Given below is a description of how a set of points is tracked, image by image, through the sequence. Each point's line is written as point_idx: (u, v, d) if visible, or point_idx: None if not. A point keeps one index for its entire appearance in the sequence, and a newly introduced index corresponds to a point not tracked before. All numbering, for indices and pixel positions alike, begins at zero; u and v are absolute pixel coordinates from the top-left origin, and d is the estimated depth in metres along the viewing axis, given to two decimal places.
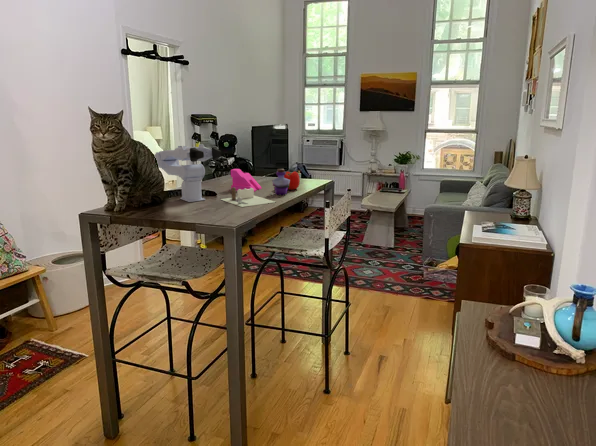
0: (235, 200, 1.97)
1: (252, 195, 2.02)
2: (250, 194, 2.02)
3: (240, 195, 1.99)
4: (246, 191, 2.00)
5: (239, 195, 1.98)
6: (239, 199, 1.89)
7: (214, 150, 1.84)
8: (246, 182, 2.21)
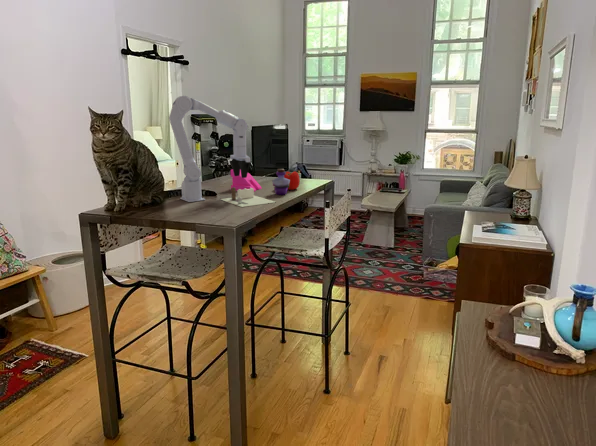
0: (235, 200, 1.97)
1: (252, 195, 2.02)
2: (250, 194, 2.02)
3: (240, 195, 1.99)
4: (246, 191, 2.00)
5: (239, 195, 1.98)
6: (239, 199, 1.89)
7: (239, 165, 2.05)
8: (246, 182, 2.21)
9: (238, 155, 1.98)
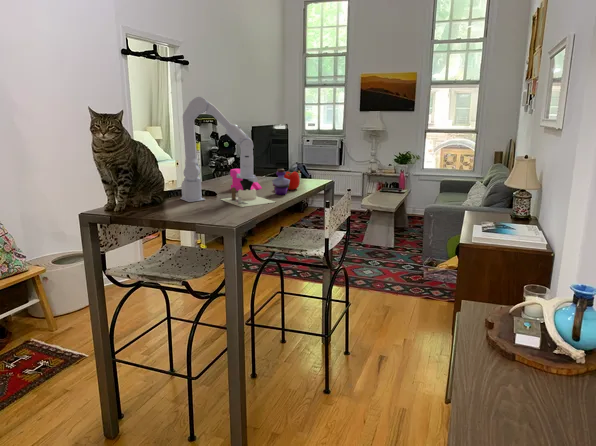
0: (235, 200, 1.97)
1: (254, 196, 2.00)
2: (252, 195, 1.99)
3: (240, 195, 1.98)
4: (247, 192, 1.98)
5: (239, 195, 1.98)
6: (239, 199, 1.89)
7: (249, 185, 2.00)
8: None
9: (245, 175, 1.95)
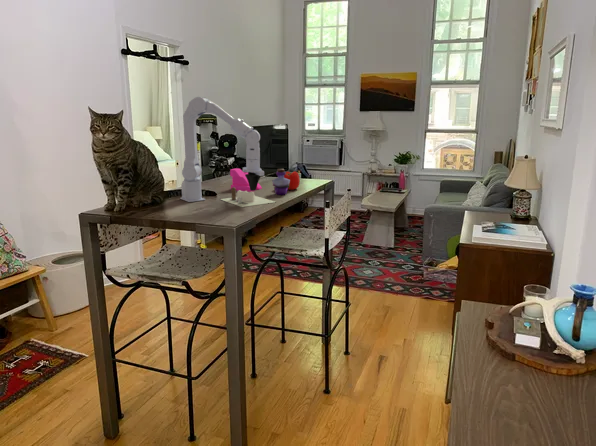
0: (235, 200, 1.97)
1: (251, 199, 1.94)
2: (249, 198, 1.94)
3: (239, 196, 1.96)
4: (245, 194, 1.94)
5: (238, 196, 1.96)
6: (239, 199, 1.89)
7: None
8: (245, 182, 2.21)
9: (251, 168, 1.91)
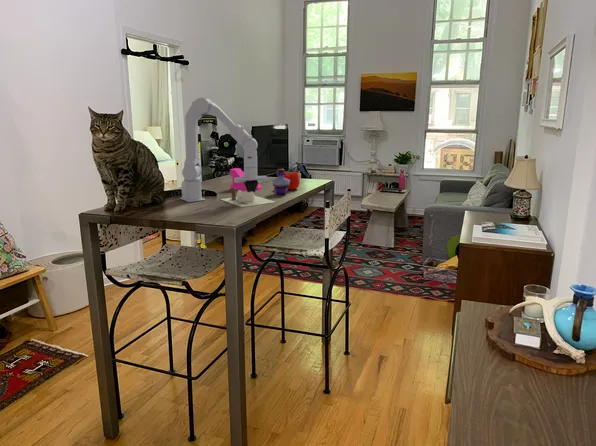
0: (235, 200, 1.97)
1: (251, 199, 1.93)
2: (249, 198, 1.94)
3: (239, 196, 1.96)
4: (245, 194, 1.94)
5: (238, 196, 1.96)
6: (239, 199, 1.89)
7: None
8: None
9: (256, 175, 1.94)
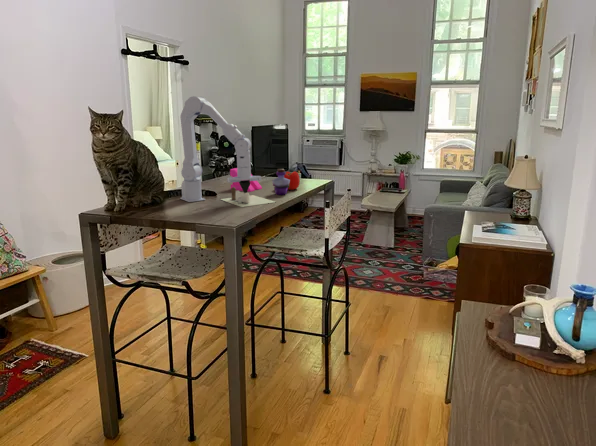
0: (235, 200, 1.97)
1: (246, 200, 1.91)
2: (244, 199, 1.91)
3: (237, 197, 1.95)
4: (241, 194, 1.92)
5: (236, 196, 1.95)
6: (239, 199, 1.89)
7: None
8: None
9: (250, 175, 1.91)
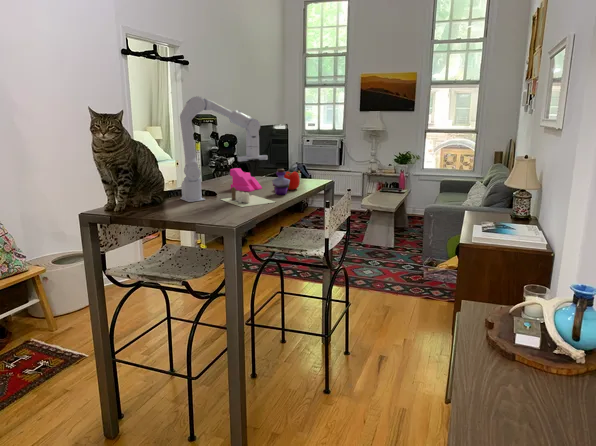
0: (235, 200, 1.97)
1: (246, 200, 1.91)
2: (244, 199, 1.91)
3: (237, 197, 1.95)
4: (241, 194, 1.92)
5: (236, 196, 1.95)
6: (239, 199, 1.89)
7: None
8: (244, 182, 2.22)
9: (258, 154, 2.01)
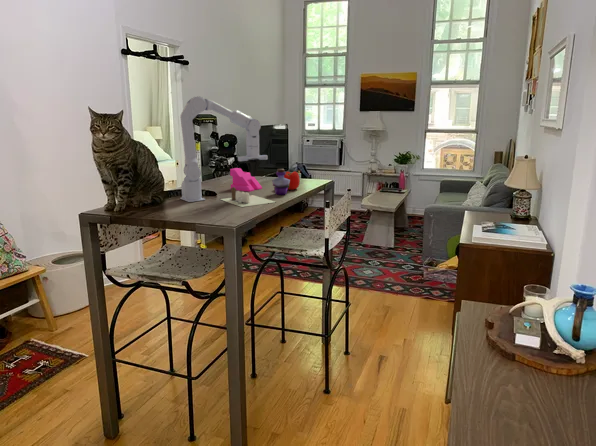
0: (235, 200, 1.97)
1: (246, 200, 1.91)
2: (244, 199, 1.91)
3: (237, 197, 1.95)
4: (241, 194, 1.92)
5: (236, 196, 1.95)
6: (239, 199, 1.89)
7: None
8: (244, 181, 2.22)
9: None
